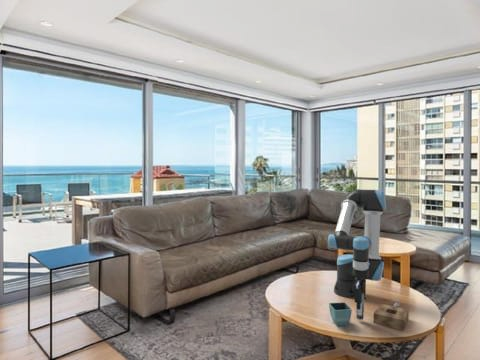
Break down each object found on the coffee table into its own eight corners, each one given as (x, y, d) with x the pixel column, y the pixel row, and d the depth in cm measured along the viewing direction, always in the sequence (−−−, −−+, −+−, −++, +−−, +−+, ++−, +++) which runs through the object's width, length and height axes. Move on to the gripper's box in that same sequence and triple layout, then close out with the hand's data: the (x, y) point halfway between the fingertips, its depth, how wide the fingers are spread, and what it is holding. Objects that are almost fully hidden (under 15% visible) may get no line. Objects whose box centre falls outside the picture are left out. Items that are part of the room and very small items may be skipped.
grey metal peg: (355, 318, 169) (356, 293, 168) (357, 315, 172) (357, 291, 171) (362, 320, 167) (362, 295, 166) (364, 317, 170) (364, 292, 169)
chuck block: (373, 322, 168) (373, 313, 168) (384, 304, 189) (384, 295, 189) (404, 330, 160) (404, 320, 160) (411, 310, 181) (411, 301, 181)
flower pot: (328, 319, 172) (328, 302, 171) (344, 318, 172) (345, 301, 172) (334, 328, 163) (334, 310, 162) (351, 327, 164) (352, 309, 163)
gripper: (364, 274, 158) (363, 322, 160) (372, 265, 172) (371, 308, 174) (348, 271, 163) (347, 317, 164) (357, 262, 176) (357, 305, 178)
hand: (360, 313), depth 169 cm, fingers closed on grey metal peg, 3 cm apart
